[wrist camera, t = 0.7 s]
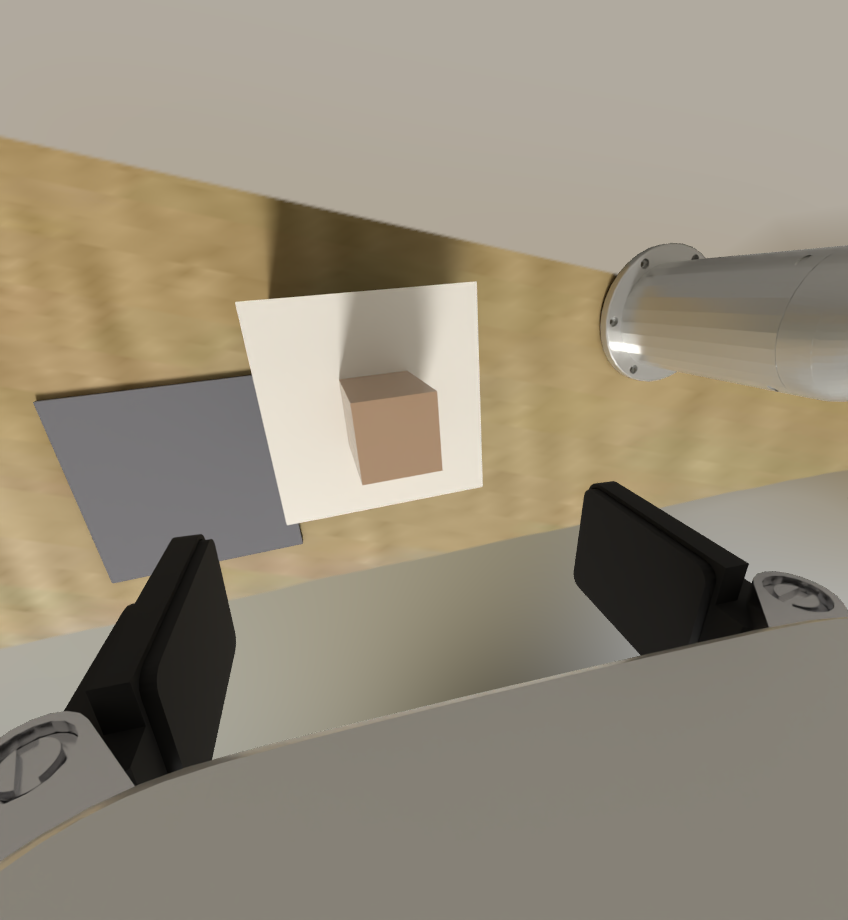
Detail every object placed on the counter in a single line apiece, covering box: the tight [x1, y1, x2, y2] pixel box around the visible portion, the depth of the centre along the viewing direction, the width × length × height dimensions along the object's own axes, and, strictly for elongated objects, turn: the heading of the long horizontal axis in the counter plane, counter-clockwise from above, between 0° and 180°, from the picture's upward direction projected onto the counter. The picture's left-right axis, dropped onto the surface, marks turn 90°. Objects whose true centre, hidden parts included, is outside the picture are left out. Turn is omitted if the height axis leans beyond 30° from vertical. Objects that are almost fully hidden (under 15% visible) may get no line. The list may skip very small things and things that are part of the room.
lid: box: [235, 281, 483, 525], centre depth 24 cm, size 13×13×8 cm
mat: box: [33, 375, 303, 583], centre depth 35 cm, size 16×16×1 cm
